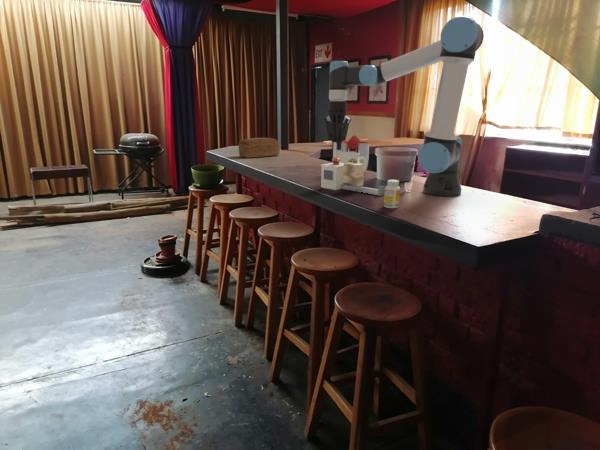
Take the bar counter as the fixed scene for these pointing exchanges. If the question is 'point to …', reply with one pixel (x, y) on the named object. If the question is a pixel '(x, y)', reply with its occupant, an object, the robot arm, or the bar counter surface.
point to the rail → (365, 189)
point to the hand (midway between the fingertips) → (336, 157)
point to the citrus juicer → (356, 148)
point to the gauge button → (335, 161)
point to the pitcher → (352, 158)
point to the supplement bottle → (392, 194)
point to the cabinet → (332, 176)
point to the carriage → (353, 174)
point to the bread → (259, 147)
